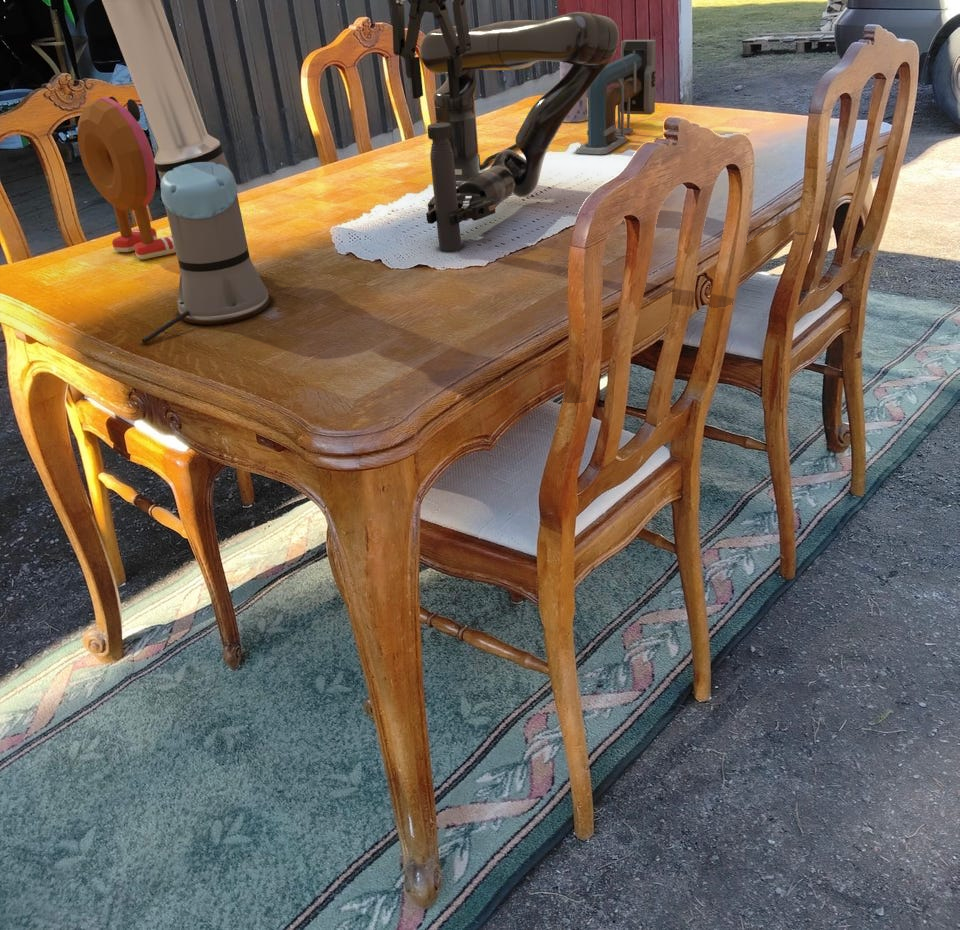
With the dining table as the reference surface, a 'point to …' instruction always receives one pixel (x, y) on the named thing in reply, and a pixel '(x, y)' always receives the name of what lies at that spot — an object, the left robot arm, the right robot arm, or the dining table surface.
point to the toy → (122, 171)
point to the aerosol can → (580, 108)
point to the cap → (439, 131)
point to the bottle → (445, 194)
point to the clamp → (620, 96)
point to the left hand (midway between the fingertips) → (436, 96)
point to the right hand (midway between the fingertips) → (440, 219)
